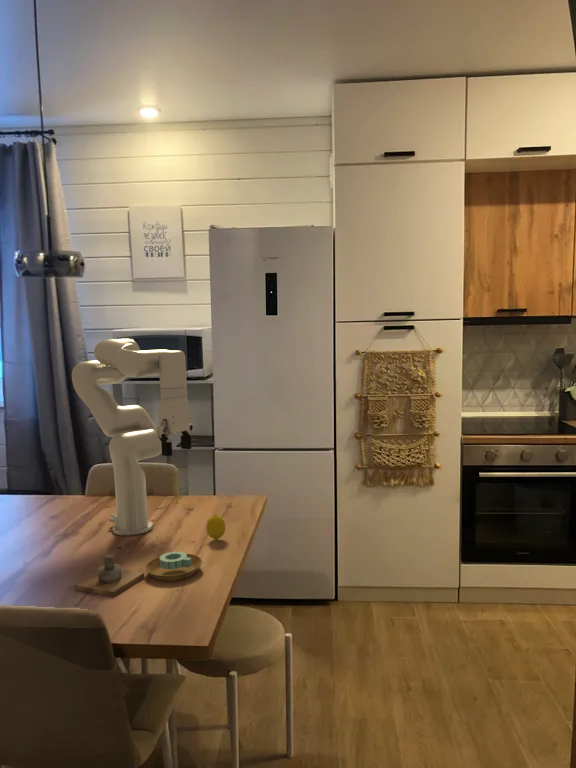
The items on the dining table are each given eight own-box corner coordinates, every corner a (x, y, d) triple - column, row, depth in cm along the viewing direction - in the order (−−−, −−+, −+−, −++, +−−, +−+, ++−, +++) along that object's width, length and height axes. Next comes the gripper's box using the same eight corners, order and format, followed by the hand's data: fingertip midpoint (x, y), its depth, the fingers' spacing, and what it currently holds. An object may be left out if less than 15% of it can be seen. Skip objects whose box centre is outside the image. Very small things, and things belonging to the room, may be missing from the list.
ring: (154, 567, 158) (154, 559, 158) (170, 557, 165) (169, 550, 164) (182, 571, 155) (182, 564, 155) (197, 561, 161) (197, 554, 161)
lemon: (222, 543, 180) (221, 517, 179) (204, 543, 181) (203, 517, 180) (228, 537, 185) (226, 511, 185) (210, 536, 187) (209, 511, 186)
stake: (75, 589, 152) (73, 562, 151) (107, 571, 162) (105, 545, 162) (113, 596, 147) (111, 568, 146) (144, 577, 158) (142, 551, 157)
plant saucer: (176, 589, 150) (175, 579, 150) (133, 578, 158) (133, 568, 158) (213, 568, 163) (213, 559, 163) (172, 558, 171) (172, 549, 170)
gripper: (179, 390, 184) (182, 445, 186) (144, 397, 168) (148, 457, 170) (201, 390, 181) (203, 447, 183) (167, 397, 165) (170, 459, 167)
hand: (177, 452), depth 176 cm, fingers open, 9 cm apart
